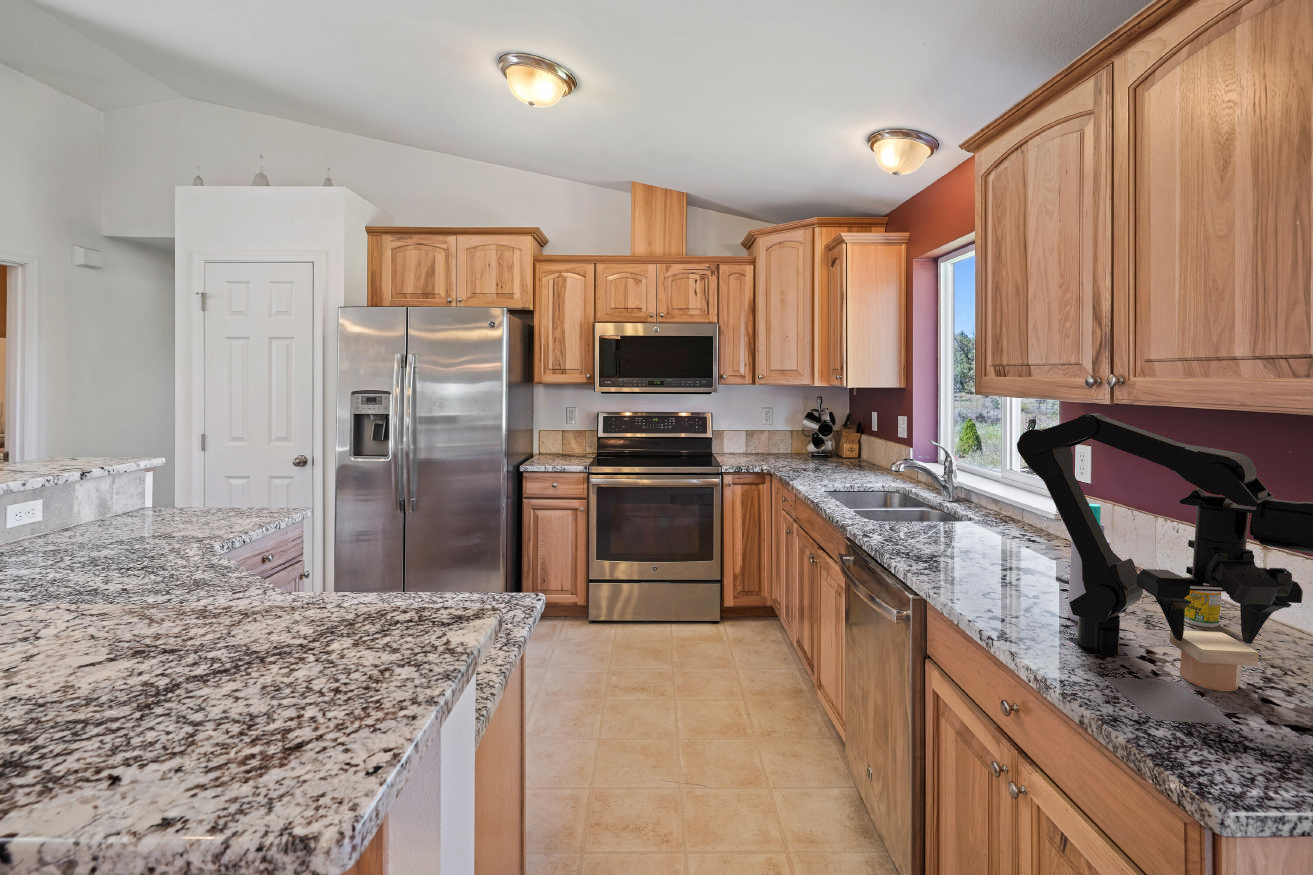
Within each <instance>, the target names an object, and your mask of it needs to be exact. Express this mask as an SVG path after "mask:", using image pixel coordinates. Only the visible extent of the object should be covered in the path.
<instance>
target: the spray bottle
mask: <svg viewBox="0 0 1313 875" xmlns="http://www.w3.org/2000/svg"><path fill="white" fill-rule="evenodd" d="M1089 505H1090V507H1091V509H1092V511H1093V514H1094V516H1095V518H1096V520H1097V522H1098V524H1099V526H1100V528H1101V530H1102V532H1103V534H1104V535H1105V524H1104V523H1101V513H1102V512H1101V511H1102V510H1101V508H1102V506H1101V504H1096V503H1089ZM1106 540H1107V542H1108V544H1109V546H1110V547H1111V541H1110V540H1109V539H1106ZM1069 559H1070V560H1069V562H1070V563H1069V577H1068V580H1069V581H1068V595H1067V597H1068V599H1067V616H1068V618H1070V619H1071V620H1073V621H1074V622H1077V623H1078V619H1079V616H1076V615H1073V613H1072V610H1071V607H1070V604H1069V603H1070V602H1071V601H1072V600H1074V599H1076V598H1077V597H1079V596H1081V595H1083V594H1084V593H1086V591H1085V588H1084V584H1083V581H1082V561H1081V558H1080V556H1079V553H1078V551H1077V549H1076V547H1075V545H1074V543H1073V541H1072V539H1071V544H1070V558H1069Z"/></svg>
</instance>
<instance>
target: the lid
mask: <svg viewBox="0 0 1313 875" xmlns="http://www.w3.org/2000/svg"><path fill="white" fill-rule="evenodd" d="M1169 643H1170V644H1171V645H1173V646H1175V647H1176V648H1178V649H1179V650H1182V651H1184V652H1185V653H1187V654H1188V655H1190V656H1191V657H1193V658H1195V659H1196V660H1198V661H1199V662H1201V663H1214V664H1234V665H1241V666H1256V667H1258V662H1259V653H1260V652H1259V651H1257V650H1256V649H1254V648H1253V647H1250V646H1248V645H1247V644H1246V643H1245V644H1244V643H1243V642H1241V641H1239V640H1237V639H1235V638H1233V637H1231V636H1230V635H1228V634H1226V633H1224V632H1222V631H1221V632H1220V631H1201V630H1200V631H1199V630H1184V634H1183V638H1182V641H1178V640H1177V639H1175V638H1174V635H1173V633H1172V631H1171V629H1170V630H1169Z"/></svg>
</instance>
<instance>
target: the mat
mask: <svg viewBox="0 0 1313 875" xmlns="http://www.w3.org/2000/svg"><path fill="white" fill-rule="evenodd" d="M1103 679H1104V680H1105V681H1106V682H1108V684H1110V685H1111V686H1113V688H1114V689H1116V690H1117V691H1118V692H1120V693H1121V694H1122V695H1123V696H1125V697H1126V699H1128V700H1129V701H1130V703H1132V704H1133V705H1135V706H1136V707H1137V708H1138V709H1139V710H1140V711H1142V712H1143V713H1144V714H1146V716H1148V717H1149V719H1151V720H1153V721H1164V722H1179V723H1180V722H1182V723H1193V724H1194V723H1196V724H1197V723H1198V724H1210V725H1211V724H1212V725H1213V724H1214V725H1215V724H1216V725H1228V726H1229V725H1231V726H1237V724H1236V723H1235V722H1233V721H1232V720H1231V719H1230V718H1228V717H1227V716H1225V715H1224V714H1223V713H1221V712H1220V711H1219V710H1217V709H1216V708H1214V707H1213V706H1211V705H1210V704H1209V703H1208V702H1206V701H1204V699H1201V697H1199V696H1197V695H1196V694H1194V693H1193V692H1192V691H1191V690H1189V689H1188V688H1187V687H1185V686H1184V685H1182V684H1181V683H1179V682H1178V681H1174V680H1170V681H1169V680H1156V679H1155V680H1153V679H1152V680H1151V679H1137V678H1136V679H1135V678H1132V679H1131V678H1117V677H1116V678H1115V677H1103Z"/></svg>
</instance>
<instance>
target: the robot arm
mask: <svg viewBox="0 0 1313 875" xmlns="http://www.w3.org/2000/svg"><path fill="white" fill-rule="evenodd" d="M1091 440H1093V441H1096V442H1097V443H1102V444H1103V445H1106V446H1110V447H1112V448H1114V449H1117V450H1120V451H1123V452H1126V453H1127V454H1131V455H1134V456H1135V457H1139V458H1140V459H1144V460H1147V461H1150V462H1152V463H1154V464H1157V465H1160V466H1162V467H1165V468H1167V469H1168V470H1171V471H1172V472H1174V473H1175V474H1176V475H1178V476H1179V477H1180V478H1182V479H1183V480H1184V481H1186V482H1188V483H1190V484H1191V485H1193V486H1195V487H1196V488H1195V489H1193V490H1192V491H1191V492H1190V493H1189V494H1188V495H1186V496H1185V497H1183V498H1181V499H1179V501H1178V502H1179V504H1180V505H1184V506H1192V507H1196V516H1195V528H1194V529H1195V530H1194V539H1188V542H1187V547H1189V548H1191V549H1193V554H1192V555H1193V556H1192V558H1193V559H1192V566H1190V565H1189V566H1187V565H1186V567H1185V568H1186V569H1185V570H1186V571H1185V573H1186V574H1187V575H1189V574H1190V575H1192V577H1189V576H1187V577H1186V576H1182V575H1180V574H1177V573H1175V572H1173V571H1171V570H1168V569H1153V568H1143V569H1142V570H1141V571H1139V573H1138V571H1137V568H1136V566H1135V562H1134V560H1133V558H1131V557H1129V558H1127V559H1125V560H1122V558H1121V557H1119V556H1118V555H1117V553H1115V552H1114V551H1113V550H1112V548H1111V545H1110V546H1109V544H1108V542H1107V540H1108V539H1107V538H1106V536H1105V533H1104V534H1103V532H1102V530H1101V528H1100V526H1099V524H1098V522H1097V520H1096V518H1095V516H1094V514H1093V511H1092V509H1091V507H1090V505H1089V504H1090V503H1089V502H1088V499H1087V497H1086V495H1085V494H1084V492H1083V489H1082V487H1081V485H1080V483H1079V481H1078V479H1077V477H1076V475H1075V473H1074V455H1073V451H1072V447H1076V446H1078V445H1081V444H1083V443H1086V442H1087V441H1091ZM1016 448H1017V453H1018V454H1019V455H1020V457H1021V459H1022V460H1024V463H1025V464H1026V466H1027V467H1028V468H1029V469H1030V470H1031V471H1032V472H1033V473H1034V474H1035V475H1036V476H1038V478H1040V480H1042V482H1044V485H1045V487H1046V489H1047V491H1048V493H1049V495H1050V497H1051V499H1052V501H1053V503H1054V505H1055V508H1056V509H1057V511H1058V514H1059V516H1060V518H1061V520H1062V522H1063V523H1064V526H1065V529H1066V530H1067V532H1068V535H1069V537H1070V538H1071V540H1072V541H1073V543H1074V545H1075V547H1076V549H1077V551H1078V553H1079V556H1080V558H1081V561H1082V581H1083V584H1084V588H1085V591H1086V593H1084V594H1083V595H1081V596H1079V597H1077V598H1076V599H1074V600H1072V601H1071V602H1070V603H1069V604H1070V607H1071V610H1072V613H1073V615H1076V616H1079V619H1078V622H1077V623H1078V624H1077V636H1076V637H1071V636H1070V637H1068V638H1067V641H1068V642H1071V643H1072V644H1073V645H1075V646H1076V647H1077V648H1078V649H1079V650H1081V651H1082V652H1083V653H1085V654H1088V655H1101V656H1102V655H1103V656H1122V657H1128V656H1129V653H1127V652H1126V651H1125V650H1123V649H1122V648H1121V647H1119V646H1120V629H1121V628H1120V627H1121V615H1120V614H1124V613H1126V612H1127V610H1128V608H1129V607H1131V606H1133V605H1135V604H1137V603H1138V602H1139V601H1140V600H1141V598H1142V596H1143V594H1144V593H1143V592H1144V591H1145V592H1146V593H1147V594H1150V595H1151V596H1153V597H1154V598H1155V600H1156V602H1157V603H1158V605H1159V607H1160V608H1161V611H1162V612H1163V615H1164V616H1165V617H1164V618H1165V619H1166V621H1167V624H1168V626H1169V628H1170V630H1171V631H1172V633H1173V635H1174V638H1175V639H1177V640H1178V641H1182V638H1183V634H1184V631H1185V621H1184V616H1185V608H1186V607H1187V606H1188V605H1189V604H1190V603H1191V601H1189V600H1187V599H1185V597H1186V596H1188V595H1189V594H1190V590H1191V591H1220V592H1221V593H1222V592H1224V593H1226V594H1227V595H1228V597H1229V598H1230V600H1231V601H1232V602H1235V603H1236V604H1239V607H1240V608H1239V609H1240V610H1239V611H1240V612H1239V613H1240V632H1241V636H1242V637H1241V638H1242V642H1244V643H1245V644H1246V645H1252V643H1253V642H1254V641H1255V639H1256V637H1257V636H1258V634H1259V632H1260V631H1261V629H1262V627H1264V626H1263V625H1265V623H1266V622H1267V620H1268V619H1269V617H1270V616H1271V615H1272V614H1274V613H1275V612H1277V611H1279V610H1282V609H1285V608H1287V609H1289V608H1291V607H1292V604H1302V603H1303V594H1304V591H1303V589H1302V587H1301V585H1300V584H1299V583H1298V582H1297V581H1295V580H1293V574H1292V573H1291V572H1290V570H1288V569H1286V568H1285V567H1270V568H1267V567H1259V566H1257V565H1256V562H1255V554H1254V550H1252V549H1248V548H1247V540H1248V531H1249V534H1250V536H1251V537H1252V538H1253V540H1255V541H1258V543H1259V545H1260V546H1265V547H1271V548H1277V549H1285V550H1288V551H1289V550H1291V551H1297V552H1303V553H1308V554H1313V501H1294V500H1285V499H1276V498H1275V496H1274V495H1273V494H1272V493H1271V492H1270V491H1269V488H1267V487H1266V486H1265V485H1264V483H1263V482H1262V481H1261V480H1260V479H1259V477H1257V475H1258V474H1257V467H1256V465H1255V464H1254V462H1253V460H1252V459H1251V458H1250V457H1249V456H1247V455H1245V454H1242V453H1240V452H1235V451H1230V450H1224V449H1218V448H1214V447H1207V446H1199V445H1191V444H1187V443H1183V442H1180V441H1176V440H1174V439H1172V438H1171V439H1170V438H1168V437H1165V436H1162V435H1160V434H1157V433H1154V432H1150V431H1147V430H1145V429H1142V428H1138V427H1135V426H1133V425H1129V424H1127V423H1124V422H1121V421H1119V420H1115V419H1112V418H1110V417H1108V416H1106V415H1104V414H1103V413H1098V412H1096V413H1085V414H1082V415H1080V416H1078V417H1076V418H1074V419H1072V420H1071V419H1070V420H1069V421H1065V422H1061V423H1059V424H1057V425H1053V426H1050V427H1041V428H1031V429H1029V430H1026V431H1024V432H1023V433H1022V434H1021V435H1020V436H1019V438H1018V441H1017V442H1016ZM1207 493H1208V494H1207ZM1250 514H1251V517H1250V521H1249V516H1250ZM1248 528H1249V530H1248ZM1203 583H1204V584H1209V585H1203Z"/></svg>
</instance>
